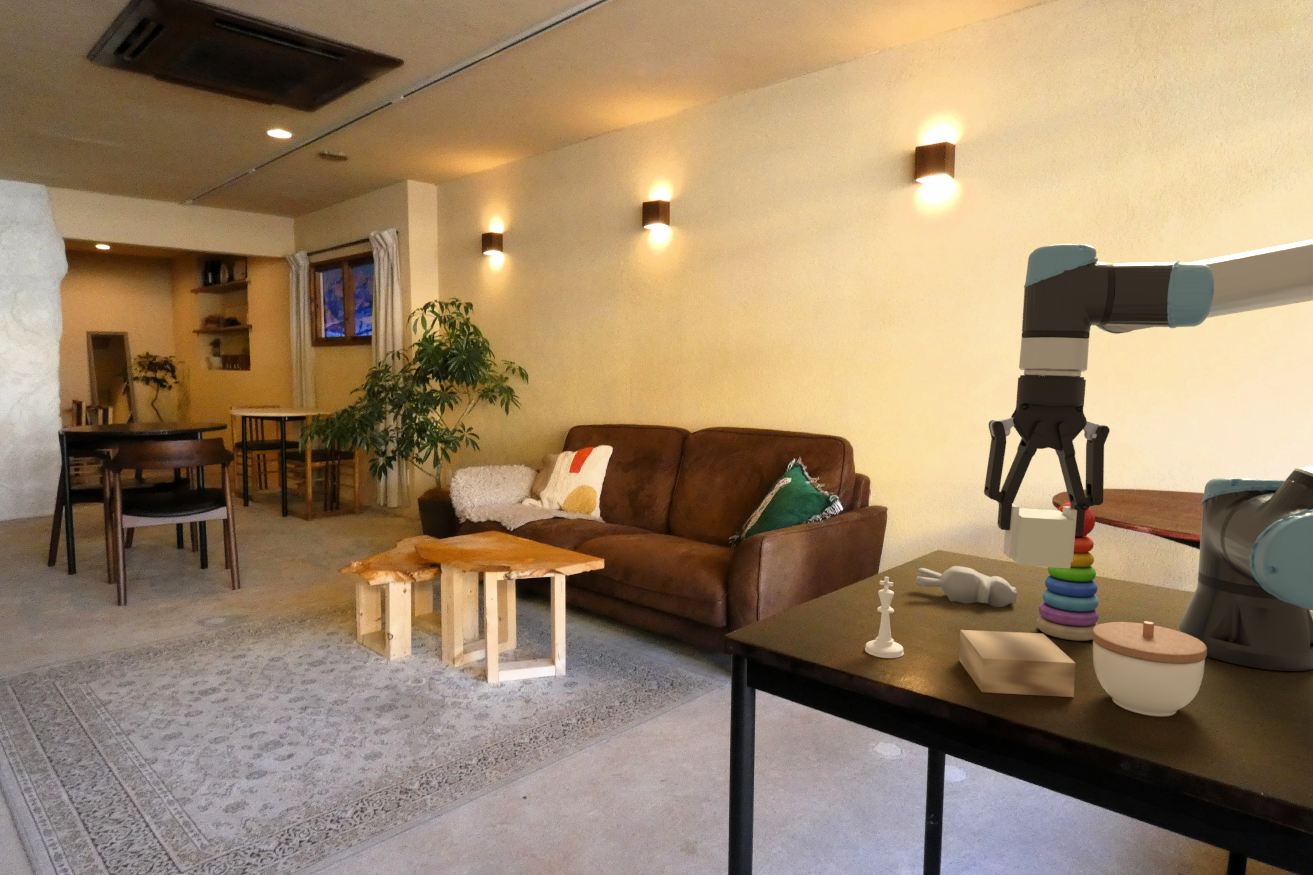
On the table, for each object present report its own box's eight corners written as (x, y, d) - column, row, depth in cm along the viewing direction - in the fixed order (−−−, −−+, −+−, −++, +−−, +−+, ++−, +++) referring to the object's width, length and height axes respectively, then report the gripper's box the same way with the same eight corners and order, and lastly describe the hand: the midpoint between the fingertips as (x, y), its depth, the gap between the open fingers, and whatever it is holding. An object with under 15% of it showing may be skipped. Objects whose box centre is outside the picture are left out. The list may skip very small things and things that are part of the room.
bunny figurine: (1020, 588, 119) (917, 567, 125) (1014, 620, 120) (912, 598, 125) (1015, 573, 128) (920, 554, 133) (1010, 603, 129) (915, 583, 134)
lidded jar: (1098, 677, 95) (1103, 602, 94) (1206, 702, 88) (1212, 620, 87) (1079, 707, 86) (1084, 624, 86) (1196, 736, 80) (1203, 646, 79)
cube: (1055, 555, 102) (1059, 510, 101) (1070, 568, 96) (1074, 520, 95) (1005, 552, 103) (1009, 507, 102) (1017, 564, 97) (1021, 517, 96)
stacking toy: (1108, 645, 106) (1116, 508, 104) (1045, 640, 108) (1052, 505, 106) (1089, 626, 114) (1096, 498, 112) (1030, 622, 115) (1036, 496, 114)
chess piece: (895, 661, 100) (898, 584, 99) (859, 652, 103) (861, 577, 102) (909, 650, 104) (911, 576, 103) (873, 642, 107) (875, 570, 106)
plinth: (1041, 664, 99) (1043, 633, 98) (1073, 696, 89) (1075, 662, 89) (959, 660, 100) (960, 629, 100) (981, 691, 90) (983, 658, 90)
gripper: (1122, 376, 99) (1106, 555, 101) (964, 371, 102) (952, 545, 104) (1149, 376, 92) (1131, 570, 94) (978, 371, 95) (965, 559, 97)
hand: (1037, 556), depth 99 cm, fingers closed on cube, 6 cm apart
